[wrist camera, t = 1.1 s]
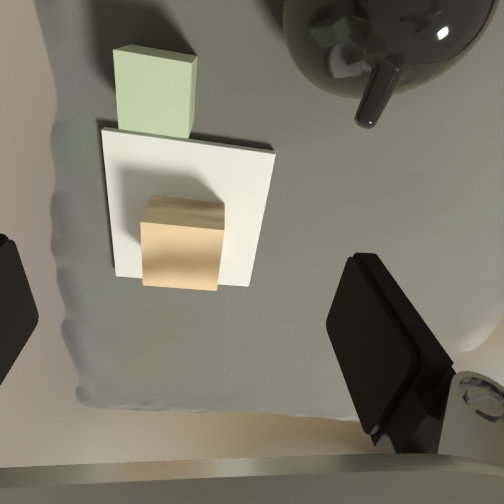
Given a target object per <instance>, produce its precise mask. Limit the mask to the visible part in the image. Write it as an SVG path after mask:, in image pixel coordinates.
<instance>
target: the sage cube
mask: <svg viewBox="0 0 504 504" xmlns="http://www.w3.org/2000/svg"><path fill="white" fill-rule="evenodd" d="M113 56H114V70H115V84H116V98H117V112H118V126H119V129H122V130H129V131H136V132H143V133H150V134H158V135H165V136H172V137H179V138H186V139H188V138H189V135H190V132H191V129H192V126H193V123H194V109H195V91H196V72H197V56H195V55H190V54H184V53H178V52H172V51H167V50H161V49H155V48H150V47H144V46H138V45H133V44H130V45H127V46H123V47H120V48H116V49H113Z"/></svg>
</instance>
